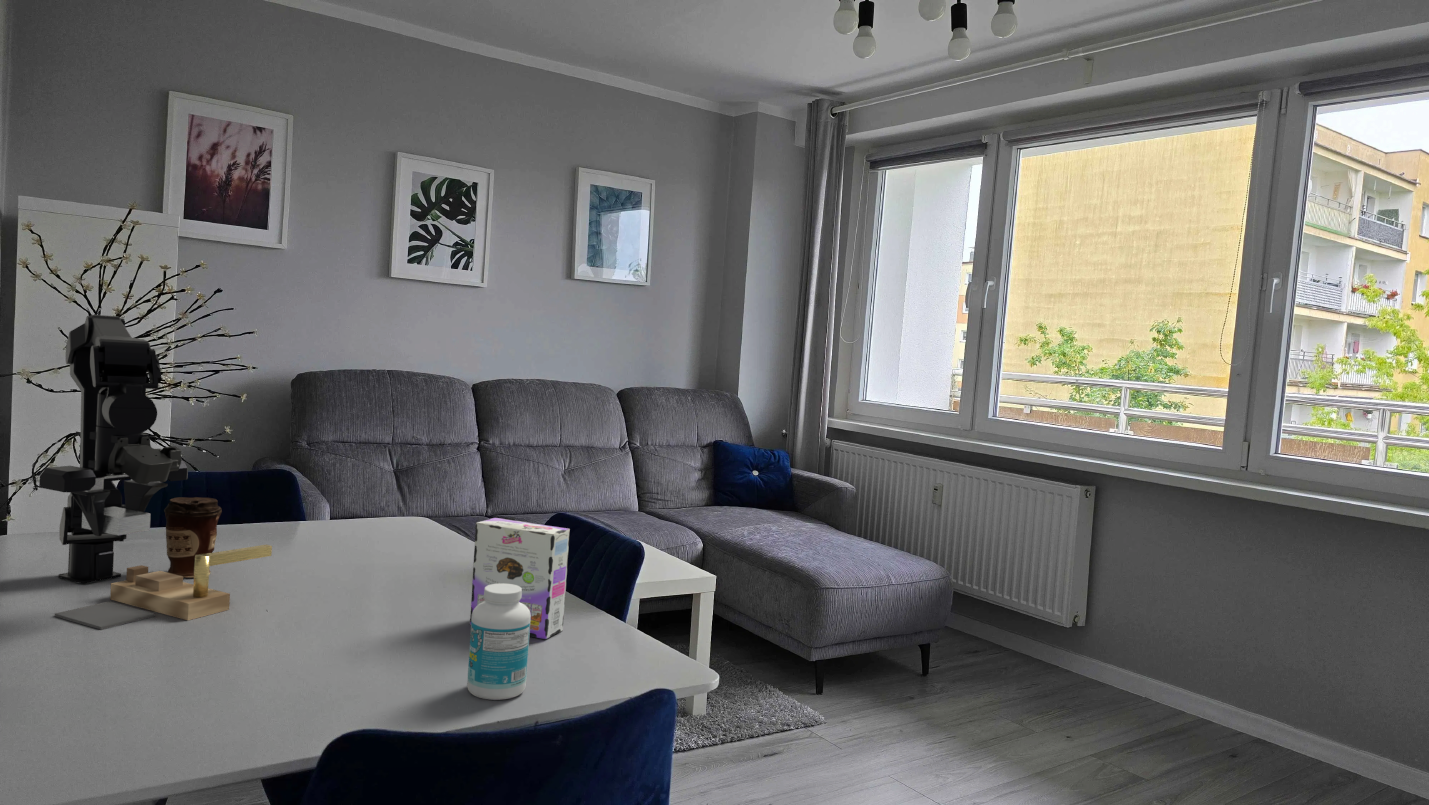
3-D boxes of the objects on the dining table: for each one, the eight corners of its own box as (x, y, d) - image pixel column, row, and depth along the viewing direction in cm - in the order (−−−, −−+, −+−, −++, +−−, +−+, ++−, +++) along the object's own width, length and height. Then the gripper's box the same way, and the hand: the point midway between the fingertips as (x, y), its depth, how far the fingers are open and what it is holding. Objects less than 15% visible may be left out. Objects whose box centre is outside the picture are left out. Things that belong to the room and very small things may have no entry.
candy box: (564, 631, 148) (572, 527, 147) (545, 641, 142) (553, 533, 141) (488, 616, 152) (495, 515, 151) (467, 625, 147) (474, 520, 146)
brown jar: (191, 583, 156) (195, 506, 156) (148, 577, 158) (151, 500, 157) (228, 572, 165) (232, 498, 164) (187, 565, 167) (190, 493, 166)
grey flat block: (81, 527, 136) (82, 510, 136) (113, 523, 141) (114, 506, 140) (118, 535, 133) (119, 518, 133) (149, 530, 138) (150, 513, 138)
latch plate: (110, 599, 145) (111, 570, 144) (153, 590, 151) (154, 562, 151) (187, 620, 138) (189, 590, 138) (229, 609, 145) (230, 580, 144)
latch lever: (197, 598, 141) (199, 557, 140) (190, 595, 142) (192, 555, 141) (271, 583, 151) (273, 546, 151) (263, 581, 152) (265, 544, 152)
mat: (54, 616, 135) (54, 613, 135) (109, 604, 143) (109, 601, 143) (100, 629, 131) (101, 626, 131) (154, 616, 139) (154, 613, 139)
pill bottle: (471, 679, 125) (478, 578, 124) (528, 682, 125) (535, 582, 124) (461, 700, 117) (468, 594, 116) (521, 703, 118) (529, 597, 117)
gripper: (94, 435, 124) (89, 552, 125) (216, 429, 142) (211, 531, 143) (38, 427, 129) (34, 540, 129) (163, 421, 146) (159, 521, 147)
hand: (115, 533), depth 137 cm, fingers closed on grey flat block, 5 cm apart
